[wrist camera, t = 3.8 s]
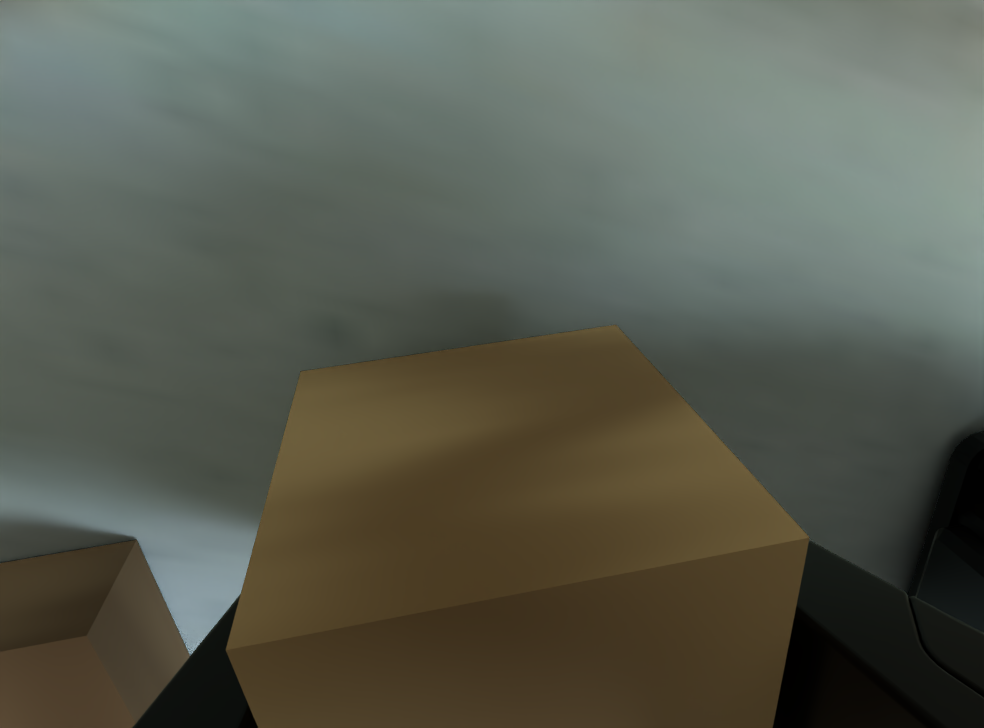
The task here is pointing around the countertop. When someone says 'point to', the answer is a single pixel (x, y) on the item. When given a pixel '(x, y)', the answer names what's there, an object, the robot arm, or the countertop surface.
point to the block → (513, 550)
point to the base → (84, 639)
